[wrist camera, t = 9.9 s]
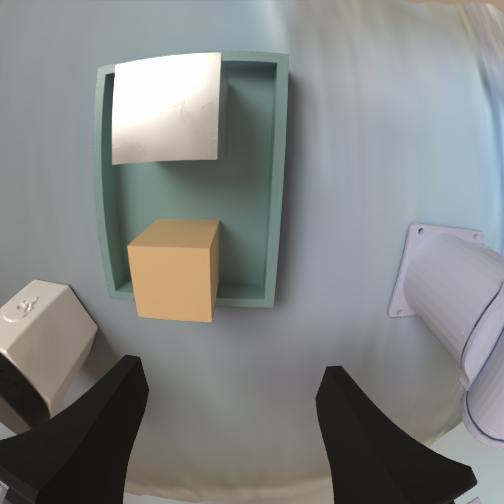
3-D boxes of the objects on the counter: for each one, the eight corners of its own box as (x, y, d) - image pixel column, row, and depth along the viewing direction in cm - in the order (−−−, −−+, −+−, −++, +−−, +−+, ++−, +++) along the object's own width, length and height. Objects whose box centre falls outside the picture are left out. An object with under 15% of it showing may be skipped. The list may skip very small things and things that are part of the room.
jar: (89, 285, 19) (3, 387, 8) (108, 359, 22) (61, 458, 11) (20, 273, 18) (-58, 342, 7) (42, 340, 21) (-12, 415, 10)
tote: (282, 67, 14) (288, 54, 11) (270, 288, 19) (273, 307, 17) (115, 75, 13) (98, 67, 11) (123, 281, 19) (109, 298, 16)
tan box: (219, 219, 17) (209, 248, 12) (219, 278, 18) (211, 322, 13) (157, 219, 17) (127, 246, 12) (162, 275, 18) (138, 316, 13)
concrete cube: (226, 156, 15) (217, 159, 10) (152, 158, 15) (111, 164, 10) (229, 83, 14) (221, 52, 8) (154, 88, 13) (116, 65, 8)
